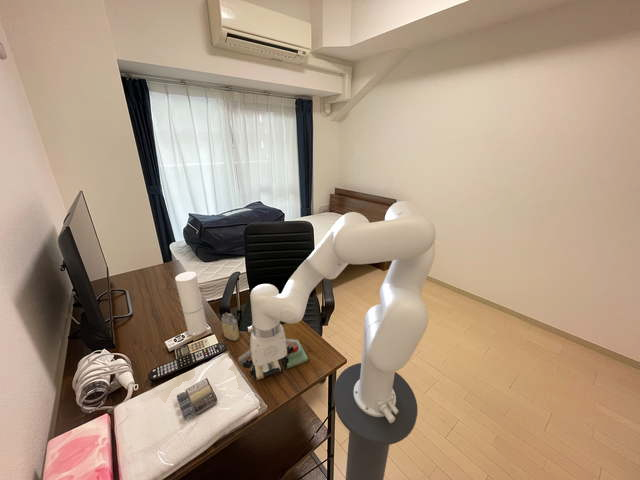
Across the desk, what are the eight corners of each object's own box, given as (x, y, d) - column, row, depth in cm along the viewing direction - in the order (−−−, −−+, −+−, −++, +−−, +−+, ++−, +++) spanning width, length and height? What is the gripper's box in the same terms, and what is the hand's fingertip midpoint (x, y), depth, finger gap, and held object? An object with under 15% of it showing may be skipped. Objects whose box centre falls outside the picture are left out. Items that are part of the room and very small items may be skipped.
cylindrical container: (208, 322, 107) (198, 270, 98) (204, 334, 101) (193, 280, 91) (190, 324, 106) (178, 272, 97) (185, 336, 100) (172, 282, 90)
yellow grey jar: (241, 336, 100) (238, 315, 96) (234, 342, 97) (230, 321, 93) (228, 330, 103) (225, 310, 99) (221, 336, 100) (217, 315, 96)
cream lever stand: (281, 371, 85) (279, 344, 81) (257, 380, 82) (253, 352, 77) (272, 350, 93) (270, 324, 89) (251, 357, 90) (247, 331, 86)
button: (298, 350, 90) (298, 347, 89) (289, 354, 88) (289, 350, 88) (295, 343, 93) (295, 340, 92) (286, 347, 91) (285, 343, 91)
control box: (308, 360, 89) (308, 354, 88) (286, 369, 86) (286, 362, 85) (298, 341, 97) (297, 335, 96) (278, 348, 94) (277, 342, 93)
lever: (279, 373, 79) (280, 371, 78) (264, 379, 77) (264, 377, 76) (269, 337, 87) (269, 334, 85) (254, 341, 85) (254, 338, 83)
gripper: (237, 344, 65) (243, 391, 71) (300, 325, 72) (300, 369, 78) (233, 326, 71) (239, 370, 77) (291, 310, 78) (292, 352, 84)
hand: (269, 370), depth 78 cm, fingers open, 9 cm apart
